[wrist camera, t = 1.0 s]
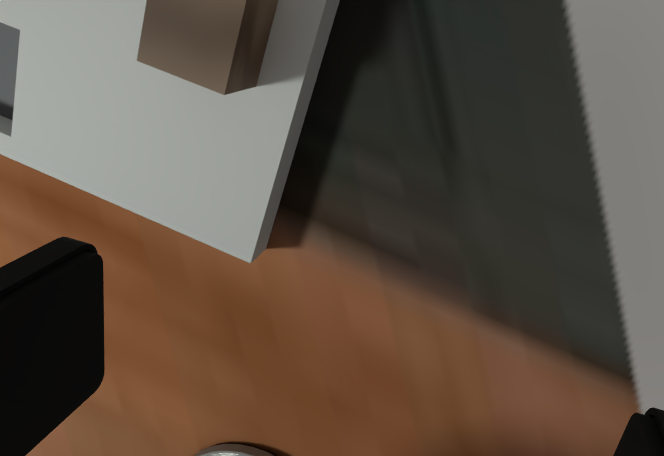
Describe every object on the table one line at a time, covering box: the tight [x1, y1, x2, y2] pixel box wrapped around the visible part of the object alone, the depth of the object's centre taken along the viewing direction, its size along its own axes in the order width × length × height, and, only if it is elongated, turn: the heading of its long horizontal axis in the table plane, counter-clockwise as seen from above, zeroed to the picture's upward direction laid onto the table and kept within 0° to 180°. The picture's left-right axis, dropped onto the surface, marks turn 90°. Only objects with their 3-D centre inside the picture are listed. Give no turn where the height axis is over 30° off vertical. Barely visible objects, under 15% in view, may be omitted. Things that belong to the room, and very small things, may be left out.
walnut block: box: [137, 0, 278, 95], centre depth 30 cm, size 5×5×4 cm
